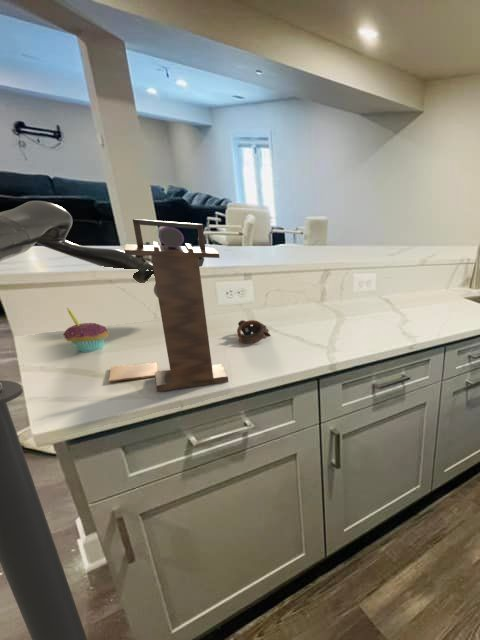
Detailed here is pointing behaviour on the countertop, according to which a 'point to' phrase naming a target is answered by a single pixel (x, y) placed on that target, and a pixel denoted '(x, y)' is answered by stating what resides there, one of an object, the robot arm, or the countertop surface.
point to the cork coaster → (133, 371)
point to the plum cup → (170, 236)
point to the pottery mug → (257, 329)
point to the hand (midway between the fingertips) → (170, 246)
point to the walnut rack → (181, 308)
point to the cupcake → (86, 335)
